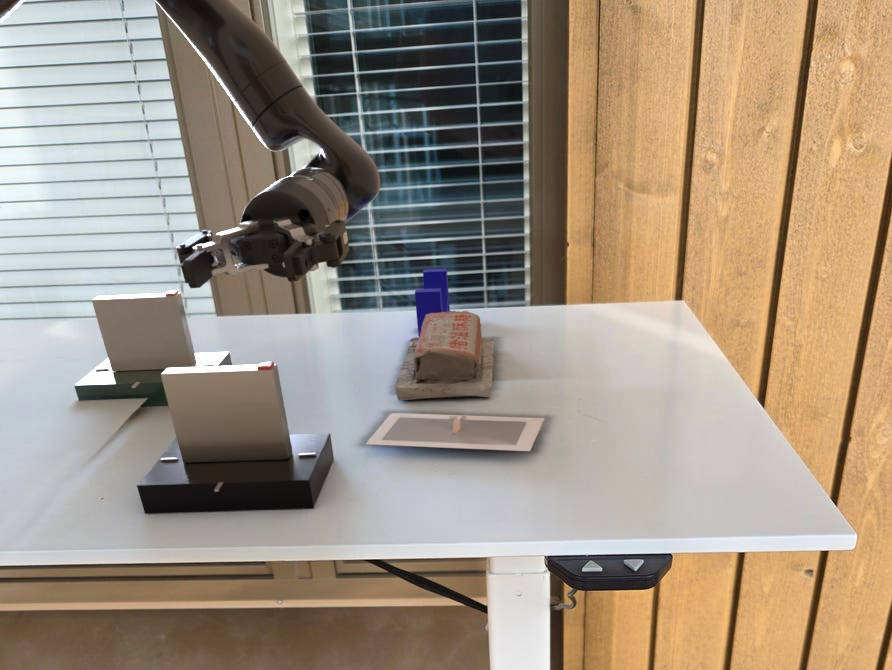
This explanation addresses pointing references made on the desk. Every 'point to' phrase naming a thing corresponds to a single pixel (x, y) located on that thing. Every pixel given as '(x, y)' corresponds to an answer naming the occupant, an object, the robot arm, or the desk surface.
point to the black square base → (239, 480)
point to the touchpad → (458, 431)
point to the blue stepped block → (432, 295)
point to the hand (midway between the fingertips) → (239, 272)
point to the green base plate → (136, 381)
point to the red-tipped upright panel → (228, 412)
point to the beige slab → (145, 331)
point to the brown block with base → (447, 359)
